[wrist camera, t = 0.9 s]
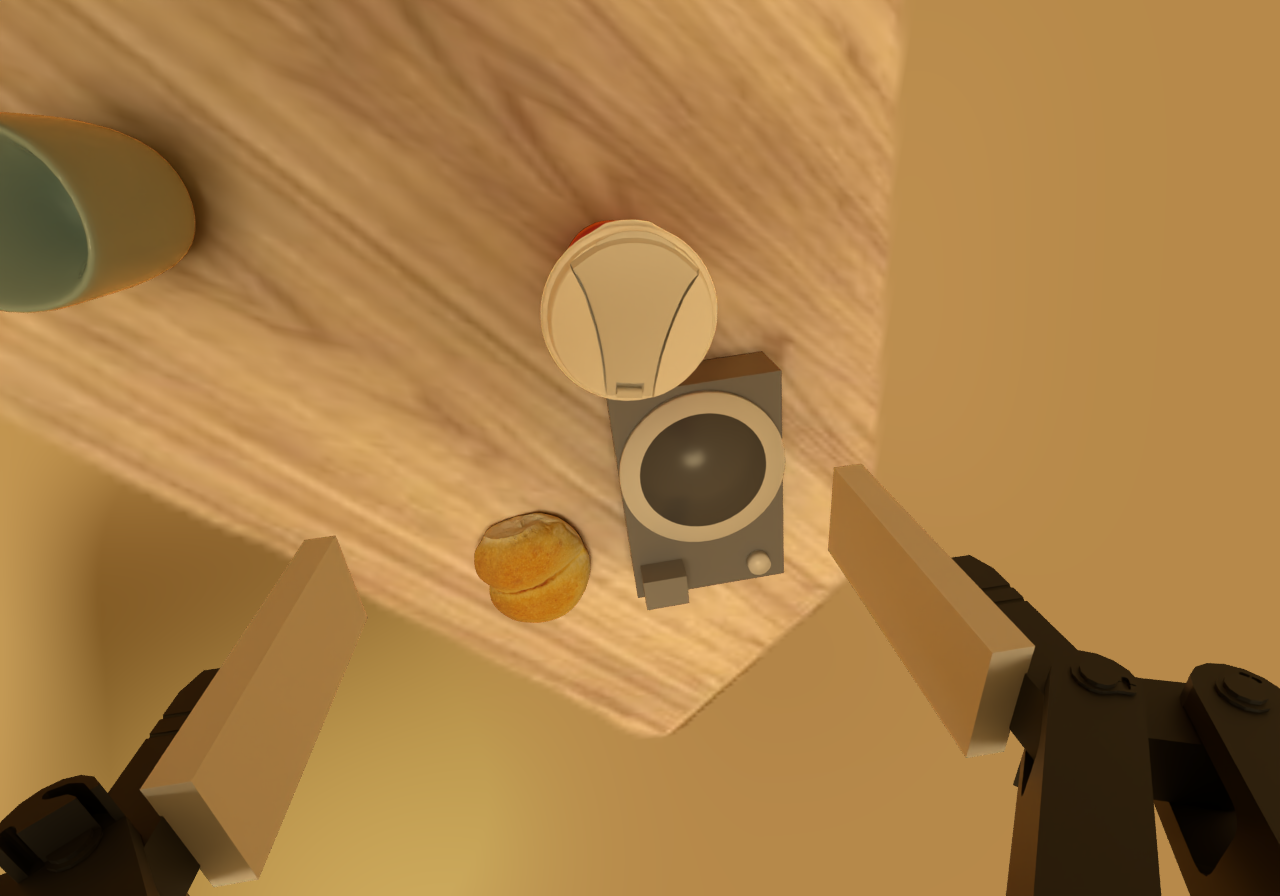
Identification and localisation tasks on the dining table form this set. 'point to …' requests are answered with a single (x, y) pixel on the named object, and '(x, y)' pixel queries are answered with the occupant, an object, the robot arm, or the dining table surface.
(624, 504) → the block
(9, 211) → the cup
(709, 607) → the dining table surface
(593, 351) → the paper cup
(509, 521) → the bread roll
